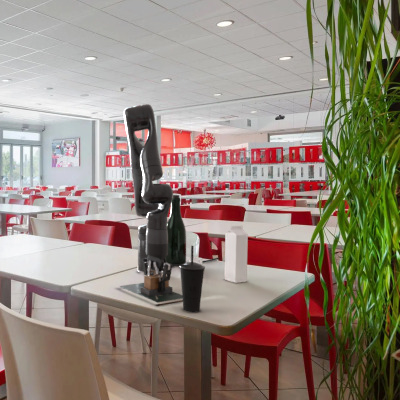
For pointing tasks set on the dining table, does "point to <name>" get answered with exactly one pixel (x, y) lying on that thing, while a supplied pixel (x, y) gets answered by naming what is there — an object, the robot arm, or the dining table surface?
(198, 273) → the drinking cup
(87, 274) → the dining table surface
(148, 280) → the eraser
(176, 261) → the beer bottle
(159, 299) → the chalkboard
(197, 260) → the container set
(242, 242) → the milk
